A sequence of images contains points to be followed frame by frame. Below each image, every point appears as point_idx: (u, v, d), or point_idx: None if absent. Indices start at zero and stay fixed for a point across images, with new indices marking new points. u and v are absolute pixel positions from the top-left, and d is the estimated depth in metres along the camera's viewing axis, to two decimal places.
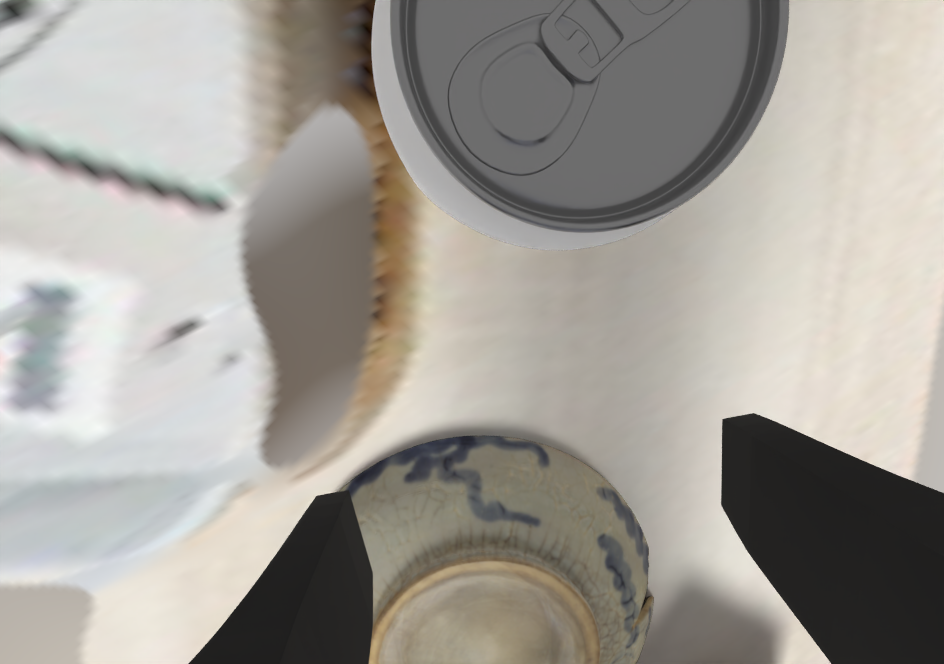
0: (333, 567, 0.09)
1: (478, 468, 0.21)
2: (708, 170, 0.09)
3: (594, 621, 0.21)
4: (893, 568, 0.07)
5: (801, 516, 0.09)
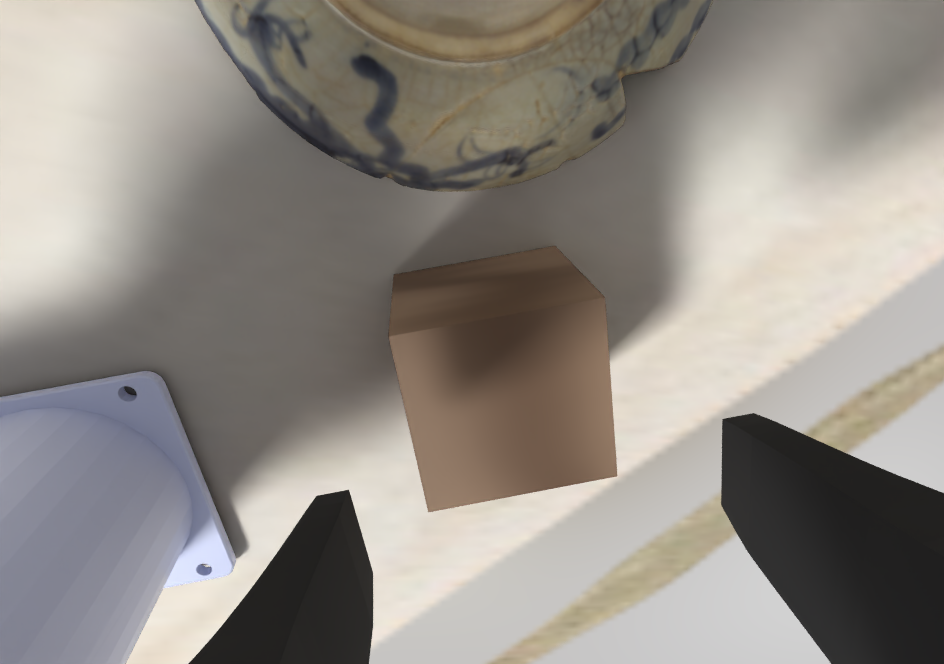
0: (333, 567, 0.09)
1: None
2: None
3: None
4: (893, 568, 0.07)
5: (801, 516, 0.09)
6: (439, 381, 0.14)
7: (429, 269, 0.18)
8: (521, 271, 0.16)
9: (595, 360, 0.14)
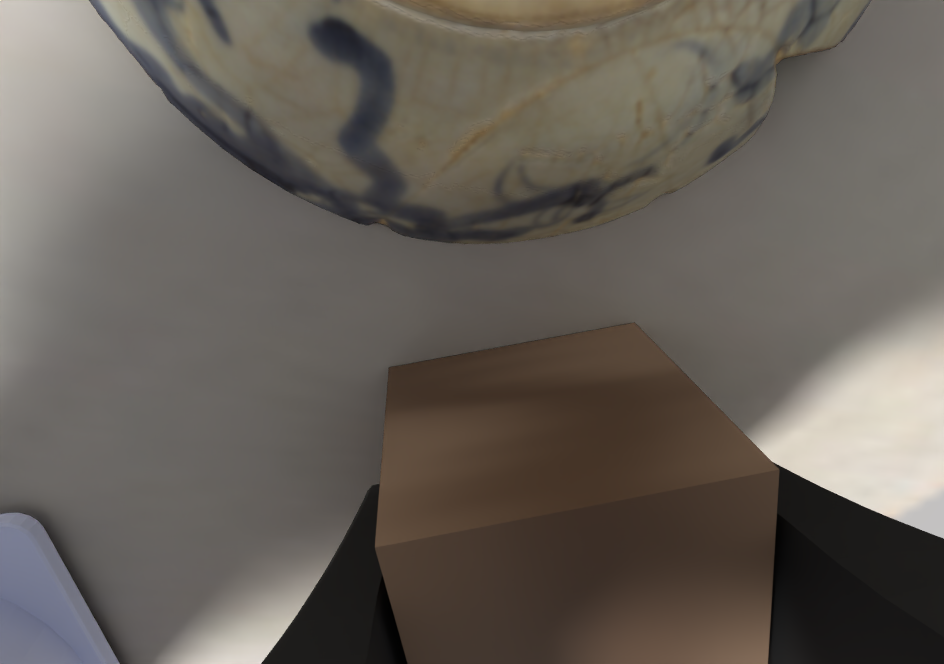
0: None
1: None
2: None
3: None
4: (813, 584, 0.07)
5: None
6: (468, 615, 0.08)
7: (444, 362, 0.11)
8: (596, 381, 0.10)
9: (749, 570, 0.08)
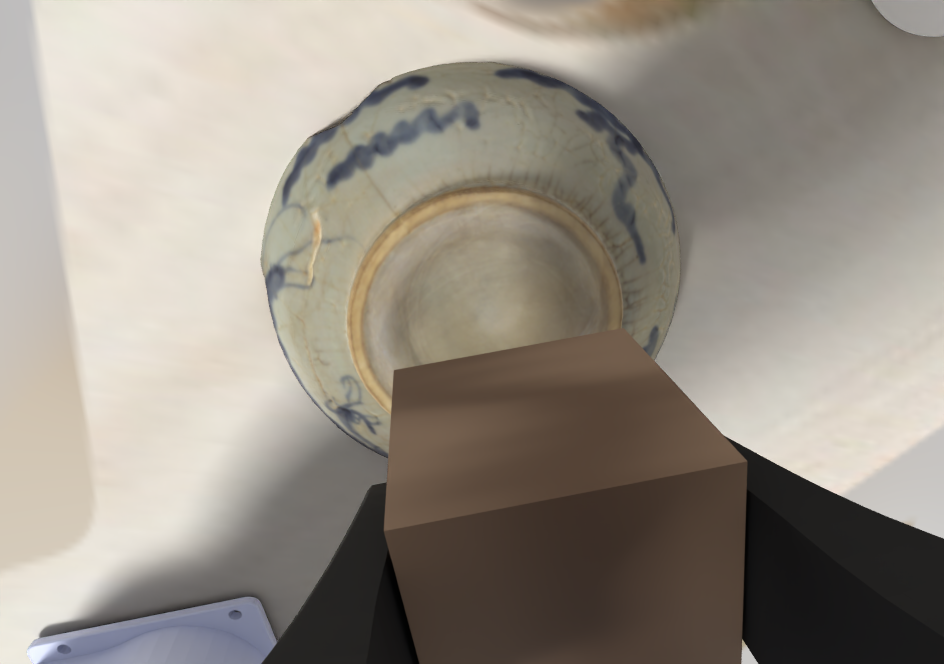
0: None
1: (638, 171, 0.18)
2: None
3: None
4: (813, 584, 0.07)
5: None
6: (467, 593, 0.08)
7: (445, 365, 0.12)
8: (586, 382, 0.11)
9: (722, 553, 0.09)
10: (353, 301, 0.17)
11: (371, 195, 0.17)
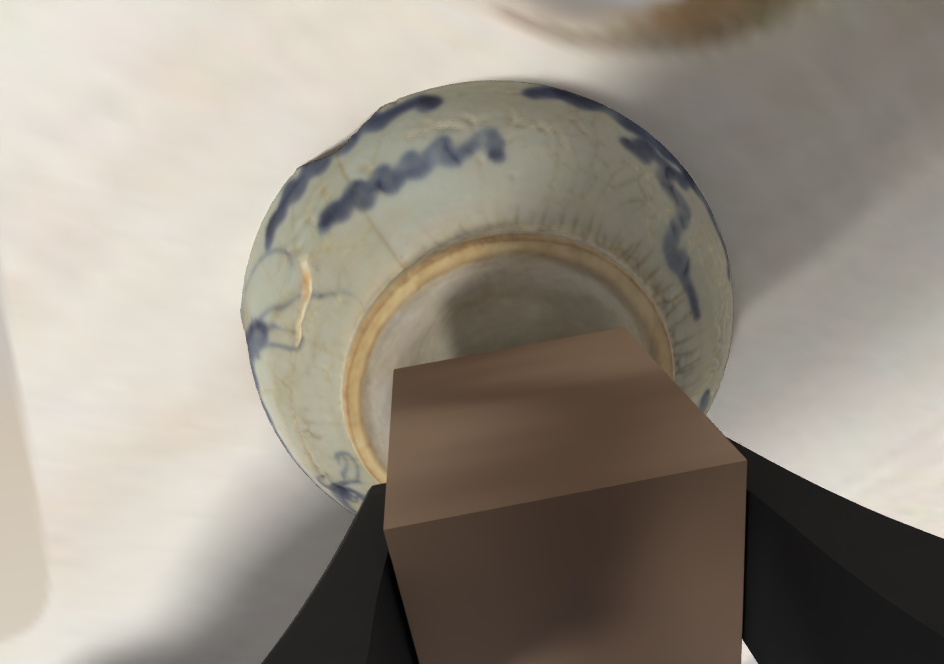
0: None
1: (692, 210, 0.15)
2: None
3: None
4: (812, 584, 0.07)
5: None
6: (467, 592, 0.08)
7: (445, 364, 0.12)
8: (585, 381, 0.11)
9: (722, 552, 0.09)
10: (350, 370, 0.14)
11: (372, 242, 0.14)
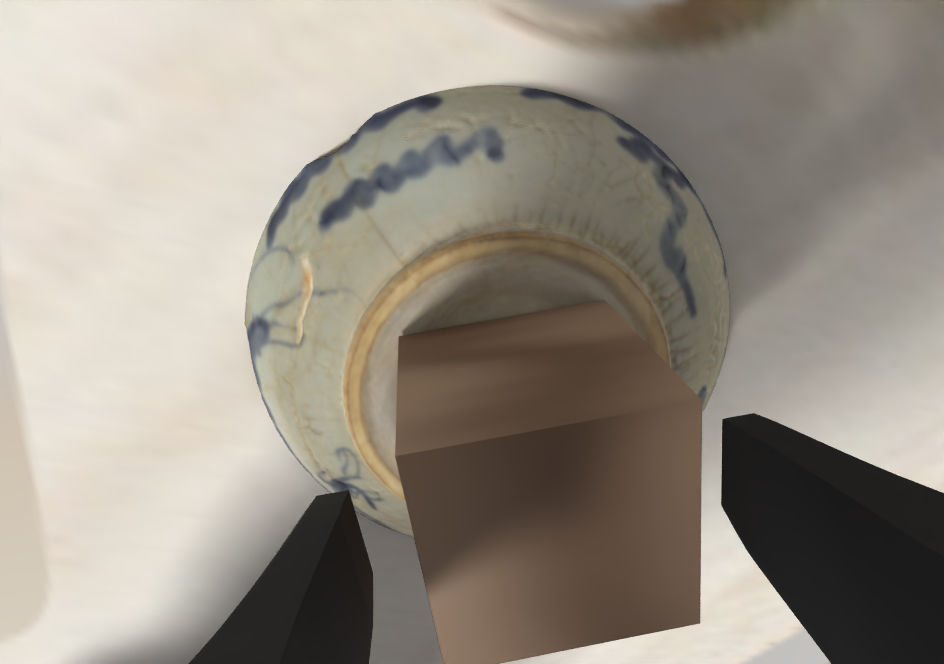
0: (332, 567, 0.09)
1: (688, 208, 0.15)
2: None
3: None
4: (893, 568, 0.07)
5: (801, 516, 0.09)
6: (464, 513, 0.10)
7: (444, 331, 0.14)
8: (569, 343, 0.12)
9: (682, 481, 0.10)
10: (350, 366, 0.14)
11: (373, 240, 0.14)
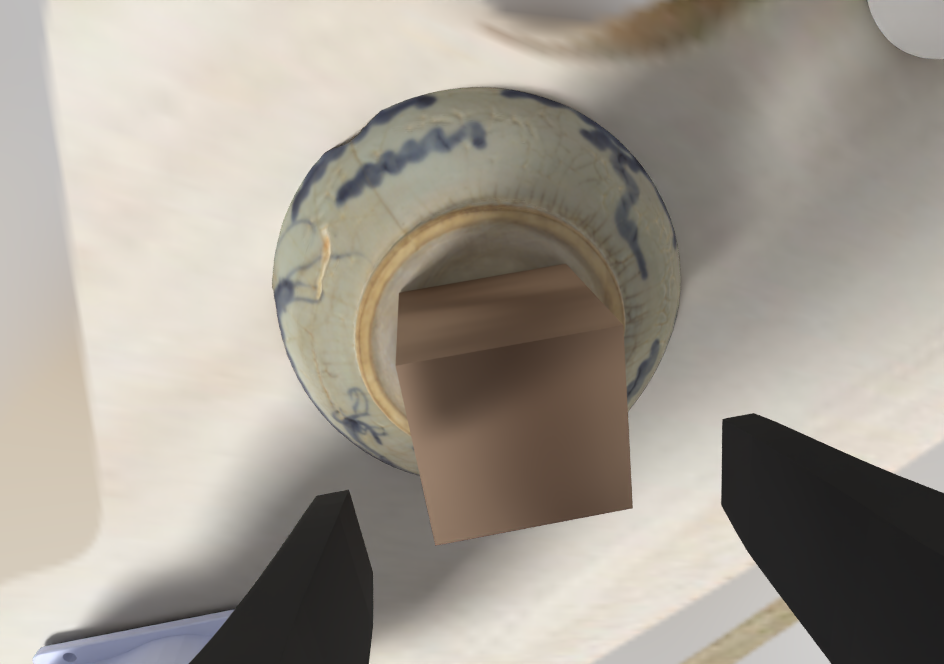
0: (333, 566, 0.09)
1: (640, 188, 0.19)
2: None
3: None
4: (893, 568, 0.07)
5: (801, 516, 0.09)
6: (447, 412, 0.13)
7: (436, 288, 0.17)
8: (533, 293, 0.15)
9: (612, 390, 0.13)
10: (362, 316, 0.17)
11: (380, 212, 0.17)
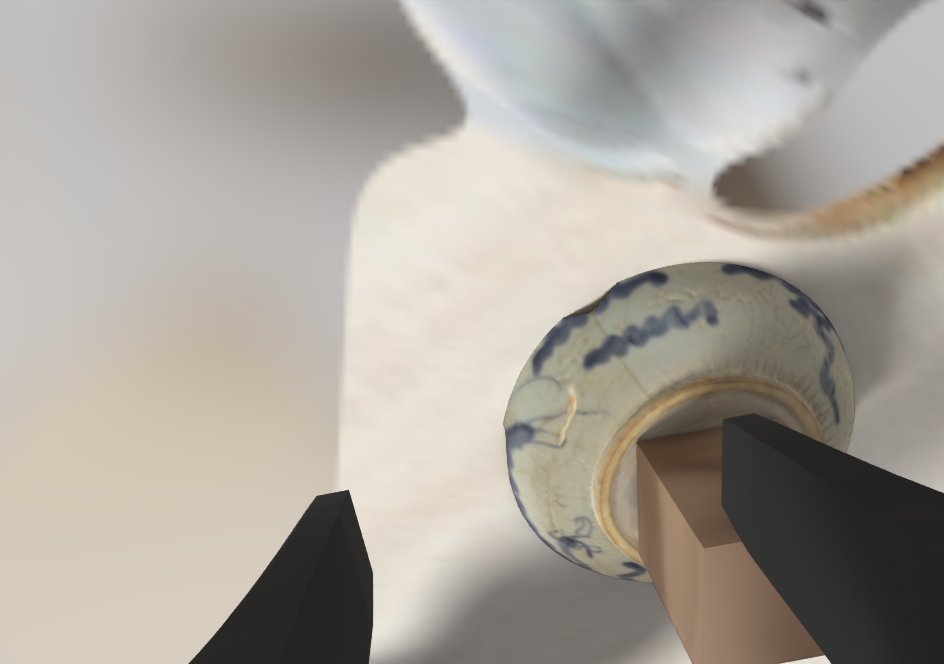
0: (333, 566, 0.09)
1: (834, 346, 0.22)
2: None
3: None
4: (893, 568, 0.07)
5: (801, 516, 0.09)
6: (735, 581, 0.16)
7: (670, 440, 0.20)
8: None
9: None
10: (607, 466, 0.20)
11: (626, 379, 0.20)
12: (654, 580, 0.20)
